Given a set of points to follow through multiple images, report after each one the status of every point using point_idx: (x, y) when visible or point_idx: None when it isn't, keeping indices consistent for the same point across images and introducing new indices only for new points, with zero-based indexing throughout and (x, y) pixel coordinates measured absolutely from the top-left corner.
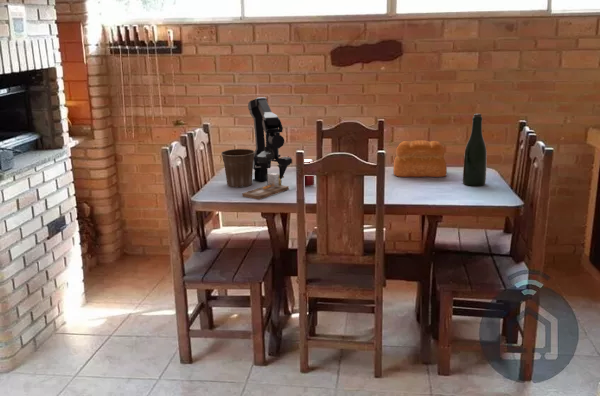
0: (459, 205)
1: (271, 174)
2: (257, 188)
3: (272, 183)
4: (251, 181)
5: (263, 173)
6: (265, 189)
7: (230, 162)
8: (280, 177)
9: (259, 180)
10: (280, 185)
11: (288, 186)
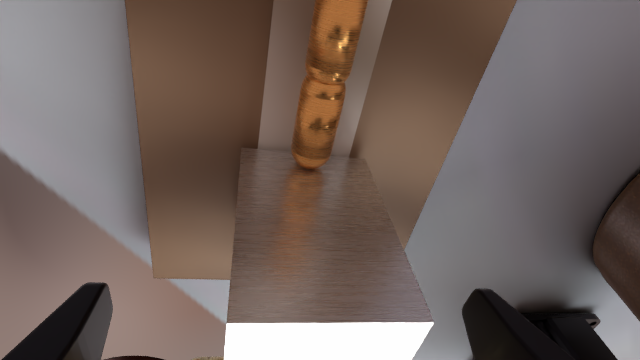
0: None
1: (331, 335)
2: (493, 39)
3: (284, 187)
4: (617, 255)
5: (539, 331)
6: None
7: None
8: (64, 306)
9: (542, 322)
10: None
11: (153, 275)
